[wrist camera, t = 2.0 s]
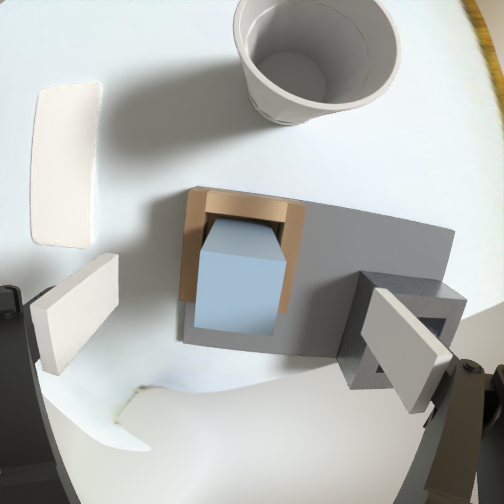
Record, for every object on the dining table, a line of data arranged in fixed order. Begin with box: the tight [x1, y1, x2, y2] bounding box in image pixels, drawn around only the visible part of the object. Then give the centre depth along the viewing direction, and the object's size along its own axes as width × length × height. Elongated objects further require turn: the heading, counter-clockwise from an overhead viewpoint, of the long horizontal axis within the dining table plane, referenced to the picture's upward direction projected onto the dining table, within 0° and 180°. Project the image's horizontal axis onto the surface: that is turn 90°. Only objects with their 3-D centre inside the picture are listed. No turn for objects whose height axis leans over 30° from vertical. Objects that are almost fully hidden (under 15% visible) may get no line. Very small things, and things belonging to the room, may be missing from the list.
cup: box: [233, 0, 402, 125], centre depth 17 cm, size 8×8×12 cm
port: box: [336, 270, 467, 390], centre depth 25 cm, size 9×9×5 cm
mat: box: [183, 186, 455, 358], centre depth 27 cm, size 24×14×1 cm, turn 82°
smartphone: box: [31, 82, 102, 248], centre depth 24 cm, size 7×1×15 cm
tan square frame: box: [179, 187, 307, 313], centre depth 23 cm, size 8×8×4 cm
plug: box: [194, 216, 287, 336], centre depth 20 cm, size 4×4×10 cm
